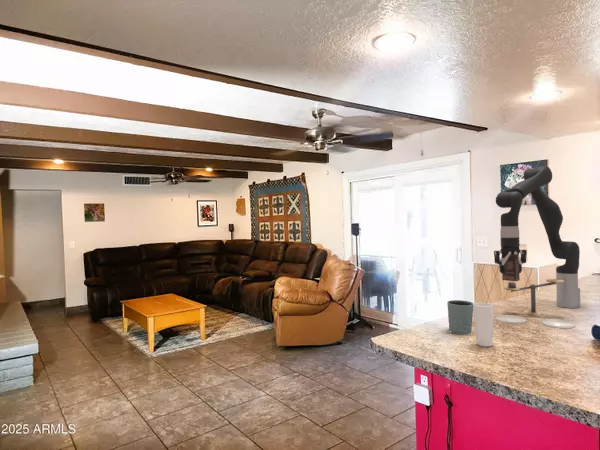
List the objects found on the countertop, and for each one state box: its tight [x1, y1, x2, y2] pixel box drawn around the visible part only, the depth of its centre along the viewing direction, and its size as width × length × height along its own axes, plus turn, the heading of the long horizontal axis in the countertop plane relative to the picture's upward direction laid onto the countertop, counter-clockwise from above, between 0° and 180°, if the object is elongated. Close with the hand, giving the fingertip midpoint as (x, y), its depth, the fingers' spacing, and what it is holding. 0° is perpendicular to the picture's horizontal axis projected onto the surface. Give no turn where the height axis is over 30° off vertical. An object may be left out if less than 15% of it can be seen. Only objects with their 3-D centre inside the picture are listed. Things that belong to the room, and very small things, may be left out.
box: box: [501, 253, 521, 283], centre depth 179 cm, size 6×4×12 cm
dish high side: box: [541, 318, 576, 329], centre depth 170 cm, size 12×12×1 cm
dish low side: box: [495, 314, 527, 325], centre depth 179 cm, size 12×12×1 cm
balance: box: [503, 278, 564, 319], centre depth 187 cm, size 24×7×17 cm, turn 60°
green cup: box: [446, 299, 475, 335], centre depth 164 cm, size 10×10×12 cm
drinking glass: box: [473, 302, 495, 348], centre depth 146 cm, size 7×7×15 cm
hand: (510, 273), depth 179 cm, fingers closed on box, 6 cm apart
